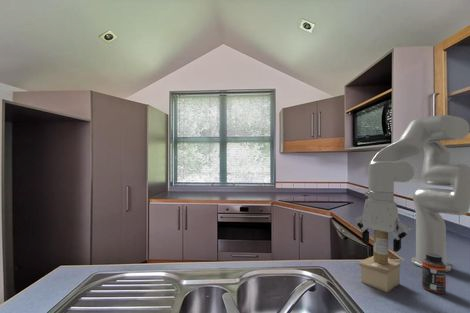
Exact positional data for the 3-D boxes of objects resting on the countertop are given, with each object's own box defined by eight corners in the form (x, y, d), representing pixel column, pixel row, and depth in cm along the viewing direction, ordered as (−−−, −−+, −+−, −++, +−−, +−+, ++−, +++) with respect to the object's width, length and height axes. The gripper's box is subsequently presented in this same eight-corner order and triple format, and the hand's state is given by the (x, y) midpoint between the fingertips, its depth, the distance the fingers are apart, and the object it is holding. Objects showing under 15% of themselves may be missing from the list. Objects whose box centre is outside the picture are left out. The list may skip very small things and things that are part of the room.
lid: (374, 258, 89) (374, 254, 89) (400, 266, 82) (400, 262, 82) (358, 265, 82) (358, 261, 82) (385, 275, 75) (385, 270, 75)
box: (374, 274, 88) (374, 258, 89) (399, 283, 82) (399, 266, 82) (361, 282, 82) (361, 264, 83) (387, 292, 76) (387, 273, 76)
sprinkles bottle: (375, 258, 86) (375, 220, 86) (389, 262, 83) (390, 222, 83) (371, 262, 82) (371, 222, 83) (387, 266, 79) (387, 225, 80)
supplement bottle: (439, 296, 75) (438, 259, 75) (418, 287, 80) (418, 252, 80) (449, 292, 77) (449, 256, 77) (428, 284, 82) (428, 250, 83)
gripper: (350, 194, 88) (350, 241, 87) (405, 200, 74) (405, 257, 73) (360, 193, 92) (360, 238, 92) (414, 199, 79) (414, 252, 78)
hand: (380, 246), depth 83 cm, fingers open, 9 cm apart
